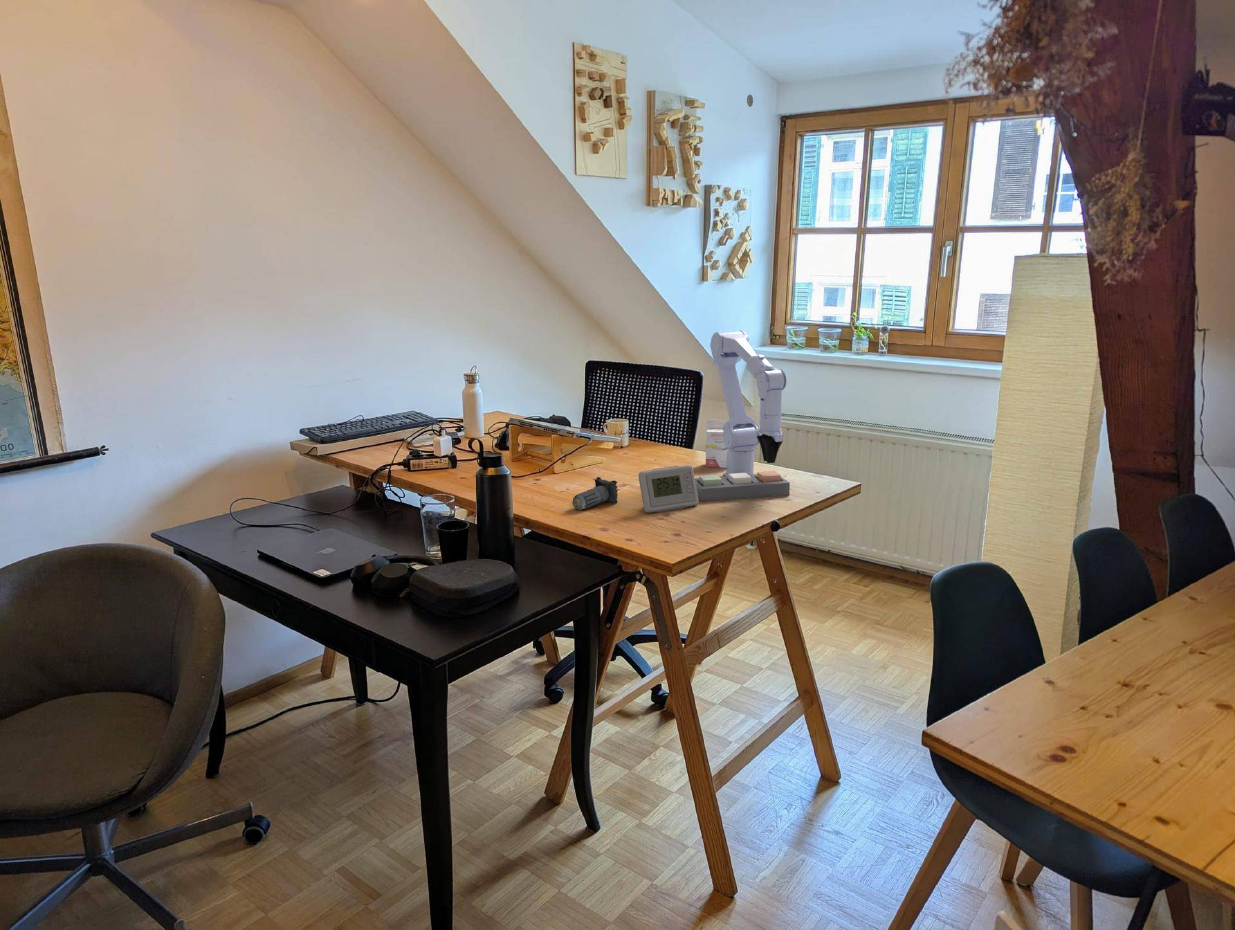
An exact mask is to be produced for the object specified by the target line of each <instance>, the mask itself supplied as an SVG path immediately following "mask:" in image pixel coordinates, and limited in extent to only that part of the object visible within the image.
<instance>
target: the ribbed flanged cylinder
mask: <svg viewBox="0 0 1235 930" xmlns="http://www.w3.org/2000/svg"><path fill="white" fill-rule="evenodd" d="M592 481H594V484H595V486H594V487H593V488H590V489H587V490H585V491H583V492H579V493H578V494H576V495H574V496H573V499H572V506H573V508H575V510H576V509H579V510H578V511H582V510H581V509H585V510H587V509H589V508H592V507H594V506H596V505H600V504H601V503H604V502H606V501H607V502H606V503H610V502H612V503H611V504H613V503H614V504H613V505H616V504H618V498H619V497H618V496H619V495H618V494H619V493H618V491H619V490H618V487H619V486H618V481H617V480H610V481H609V480H606V479H602V478H601V477H599V476H597V477H596V478H593V479H592Z"/></svg>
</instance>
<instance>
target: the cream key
mask: <svg viewBox="0 0 1235 930" xmlns="http://www.w3.org/2000/svg"><path fill="white" fill-rule="evenodd" d="M728 480H729V481H730V482H731V483H733V484H745V483H751V476H749V475H748V474H747V473H734V474H729V478H728Z"/></svg>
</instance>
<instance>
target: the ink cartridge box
mask: <svg viewBox="0 0 1235 930" xmlns="http://www.w3.org/2000/svg"><path fill="white" fill-rule="evenodd" d="M728 420H729V419H707V420H706V430H705V467H706V468H726V467H727V452H728V450H729V449H727V447H726V446H725V444H724V440H723V435H724V433H723V426H724V424H725V423H726V422H727V421H728ZM719 423H721V424H719Z"/></svg>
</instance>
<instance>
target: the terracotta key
mask: <svg viewBox="0 0 1235 930" xmlns="http://www.w3.org/2000/svg"><path fill="white" fill-rule="evenodd" d="M756 474H757V478H758V479H759V480H761V481H762V482H774V481H781V477H782V475H781V474H779V473H778V472H776V471H775V470H767V471H765V470H764V471H757V473H756Z"/></svg>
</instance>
